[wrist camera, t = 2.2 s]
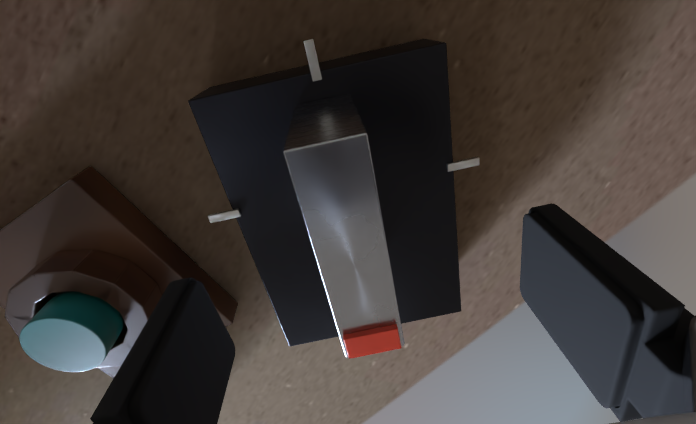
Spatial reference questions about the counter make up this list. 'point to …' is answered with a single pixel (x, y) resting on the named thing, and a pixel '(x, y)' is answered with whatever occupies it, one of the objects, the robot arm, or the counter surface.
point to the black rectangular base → (389, 167)
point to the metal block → (344, 222)
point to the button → (72, 332)
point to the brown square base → (94, 259)
